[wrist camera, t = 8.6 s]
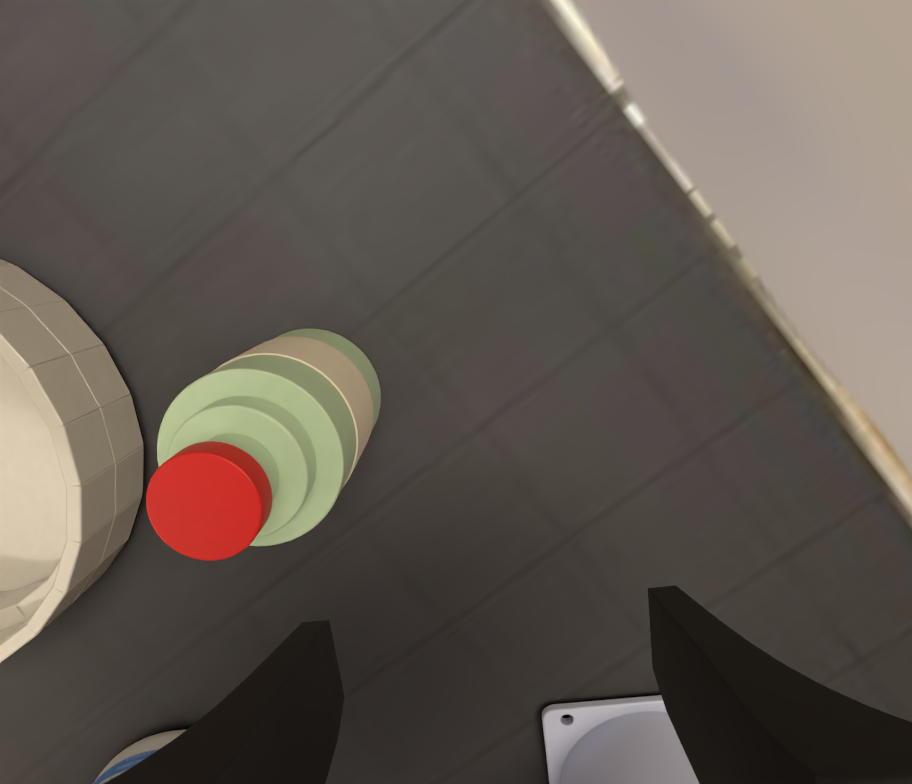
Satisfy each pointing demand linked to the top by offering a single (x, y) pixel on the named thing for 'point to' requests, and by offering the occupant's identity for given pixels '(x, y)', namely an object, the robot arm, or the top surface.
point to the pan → (58, 458)
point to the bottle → (262, 445)
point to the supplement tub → (135, 754)
